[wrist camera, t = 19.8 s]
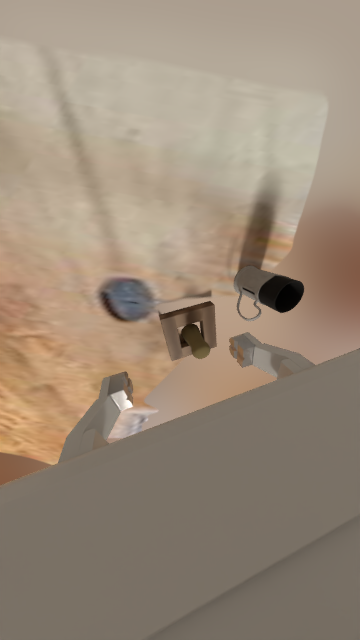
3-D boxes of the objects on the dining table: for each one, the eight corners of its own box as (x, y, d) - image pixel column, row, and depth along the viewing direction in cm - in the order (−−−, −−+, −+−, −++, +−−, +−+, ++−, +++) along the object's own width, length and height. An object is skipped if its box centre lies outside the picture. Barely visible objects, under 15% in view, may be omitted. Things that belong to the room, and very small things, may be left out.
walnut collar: (169, 355, 52) (171, 361, 50) (158, 315, 44) (160, 319, 42) (212, 341, 55) (216, 346, 52) (209, 301, 46) (214, 304, 44)
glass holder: (263, 281, 48) (309, 297, 36) (227, 310, 50) (259, 336, 37) (253, 259, 44) (302, 268, 31) (214, 292, 45) (246, 314, 33)
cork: (181, 340, 51) (192, 364, 42) (180, 325, 48) (192, 347, 39) (198, 337, 52) (212, 359, 43) (198, 322, 49) (214, 342, 40)
